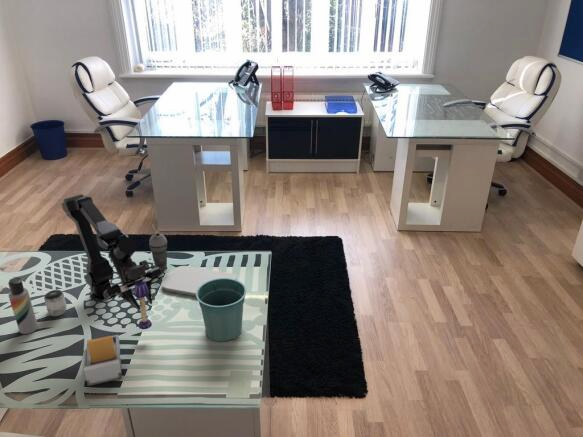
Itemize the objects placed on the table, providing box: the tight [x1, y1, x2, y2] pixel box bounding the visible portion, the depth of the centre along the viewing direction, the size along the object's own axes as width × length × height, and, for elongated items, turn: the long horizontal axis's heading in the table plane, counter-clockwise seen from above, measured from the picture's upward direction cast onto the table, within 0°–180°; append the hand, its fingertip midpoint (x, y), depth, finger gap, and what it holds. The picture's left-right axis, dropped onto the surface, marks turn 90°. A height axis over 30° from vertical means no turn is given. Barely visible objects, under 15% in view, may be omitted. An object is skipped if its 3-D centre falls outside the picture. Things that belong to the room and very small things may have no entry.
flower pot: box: [195, 278, 247, 342], centre depth 160 cm, size 16×16×16 cm
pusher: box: [86, 335, 116, 363], centre depth 147 cm, size 1×7×8 cm, turn 110°
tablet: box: [162, 265, 237, 297], centre depth 187 cm, size 16×26×2 cm, turn 75°
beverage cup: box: [148, 224, 168, 271], centre depth 193 cm, size 7×7×20 cm
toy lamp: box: [133, 281, 153, 330], centre depth 154 cm, size 5×5×17 cm
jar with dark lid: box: [43, 289, 67, 317], centre depth 169 cm, size 6×6×8 cm
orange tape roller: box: [83, 334, 123, 387], centre depth 148 cm, size 18×10×6 cm, turn 20°
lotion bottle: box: [7, 277, 39, 335], centre depth 158 cm, size 6×6×20 cm
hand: (145, 306), depth 153 cm, fingers closed on toy lamp, 4 cm apart
